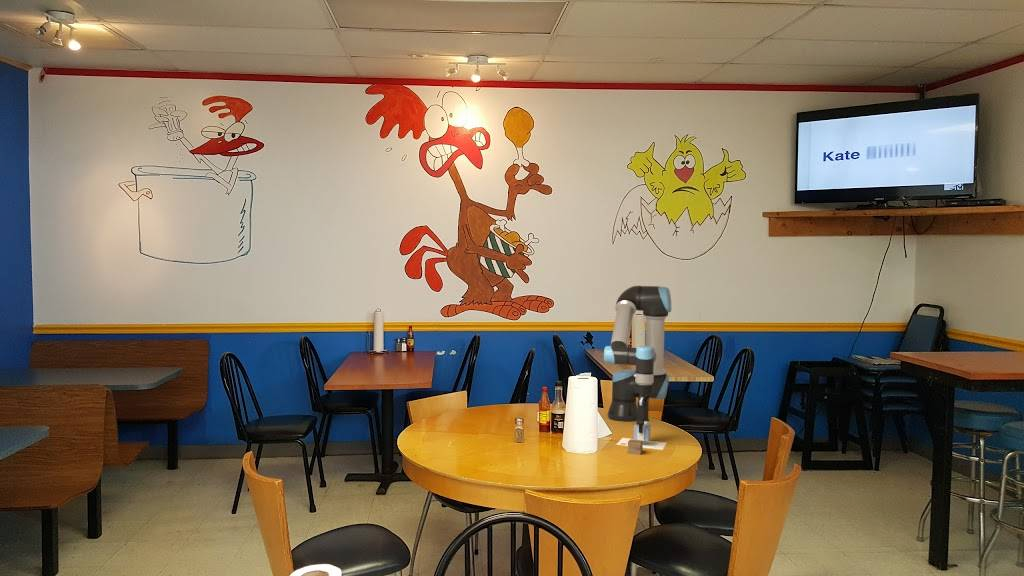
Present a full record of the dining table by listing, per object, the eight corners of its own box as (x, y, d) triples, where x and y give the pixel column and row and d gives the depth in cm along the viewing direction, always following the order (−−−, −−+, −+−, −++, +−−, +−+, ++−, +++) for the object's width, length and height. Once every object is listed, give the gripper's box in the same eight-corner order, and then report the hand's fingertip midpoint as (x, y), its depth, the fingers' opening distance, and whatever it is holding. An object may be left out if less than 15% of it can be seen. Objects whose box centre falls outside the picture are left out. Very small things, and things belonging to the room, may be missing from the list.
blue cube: (636, 436, 319) (636, 422, 319) (650, 438, 317) (650, 424, 317) (633, 440, 314) (633, 425, 313) (647, 441, 312) (648, 427, 311)
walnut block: (630, 451, 305) (630, 439, 304) (642, 452, 303) (642, 440, 303) (627, 454, 300) (627, 442, 300) (640, 455, 298) (640, 443, 298)
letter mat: (619, 436, 327) (619, 436, 327) (671, 442, 319) (671, 441, 319) (611, 445, 312) (611, 445, 312) (665, 452, 304) (665, 451, 304)
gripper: (639, 379, 324) (637, 432, 325) (630, 386, 306) (628, 442, 308) (656, 380, 322) (654, 434, 323) (649, 387, 304) (647, 444, 305)
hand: (642, 438), depth 315 cm, fingers closed on blue cube, 6 cm apart
